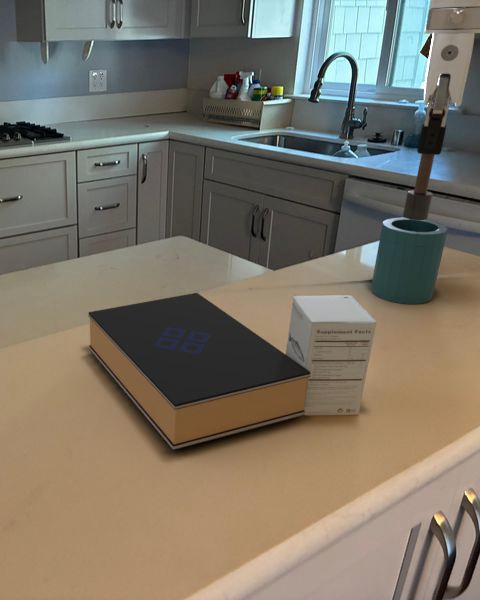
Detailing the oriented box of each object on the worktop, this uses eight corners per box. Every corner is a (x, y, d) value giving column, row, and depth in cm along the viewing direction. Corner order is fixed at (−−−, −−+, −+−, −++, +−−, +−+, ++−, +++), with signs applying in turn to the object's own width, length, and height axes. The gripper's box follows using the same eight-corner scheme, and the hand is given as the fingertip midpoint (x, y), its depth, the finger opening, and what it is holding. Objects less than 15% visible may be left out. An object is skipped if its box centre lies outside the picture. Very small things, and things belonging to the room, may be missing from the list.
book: (195, 332, 93) (197, 292, 91) (304, 421, 72) (311, 371, 69) (88, 354, 88) (88, 312, 85) (172, 456, 67) (175, 404, 64)
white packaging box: (280, 383, 80) (291, 294, 74) (338, 383, 79) (353, 293, 74) (297, 417, 73) (310, 320, 68) (360, 416, 72) (379, 320, 67)
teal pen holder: (410, 281, 110) (423, 216, 105) (444, 302, 101) (461, 232, 96) (360, 284, 109) (371, 219, 104) (390, 306, 100) (404, 236, 96)
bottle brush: (418, 213, 101) (439, 113, 95) (432, 219, 98) (455, 116, 92) (398, 214, 101) (417, 113, 95) (411, 220, 98) (432, 116, 91)
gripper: (489, 21, 80) (457, 163, 87) (483, 22, 93) (455, 145, 100) (424, 23, 83) (398, 159, 91) (427, 23, 96) (404, 142, 103)
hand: (428, 151), depth 95 cm, fingers closed on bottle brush
